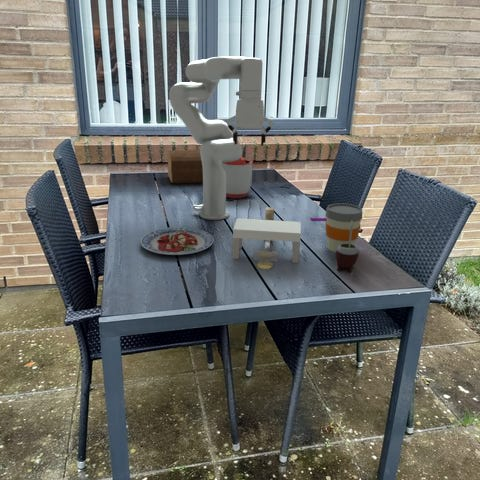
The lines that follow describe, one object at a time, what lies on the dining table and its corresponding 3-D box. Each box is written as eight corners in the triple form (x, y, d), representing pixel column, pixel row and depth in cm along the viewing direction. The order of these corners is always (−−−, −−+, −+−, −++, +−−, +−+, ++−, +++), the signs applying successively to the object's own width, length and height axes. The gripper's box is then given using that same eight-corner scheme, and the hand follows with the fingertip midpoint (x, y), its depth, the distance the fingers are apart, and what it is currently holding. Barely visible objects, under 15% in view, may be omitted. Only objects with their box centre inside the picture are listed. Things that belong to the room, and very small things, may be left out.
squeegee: (306, 207, 208) (328, 208, 208) (306, 211, 208) (328, 211, 209) (317, 231, 181) (343, 232, 181) (317, 235, 182) (342, 236, 182)
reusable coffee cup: (331, 256, 161) (336, 215, 155) (316, 243, 172) (320, 204, 166) (364, 253, 164) (370, 213, 158) (347, 240, 175) (352, 202, 170)
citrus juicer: (261, 196, 226) (262, 155, 219) (230, 201, 217) (231, 159, 209) (242, 188, 238) (243, 149, 230) (213, 193, 229) (213, 152, 221)
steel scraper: (253, 260, 157) (254, 226, 152) (258, 237, 176) (259, 206, 172) (277, 261, 156) (279, 227, 152) (279, 238, 175) (281, 208, 171)
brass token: (255, 269, 151) (256, 266, 150) (258, 263, 155) (258, 260, 155) (271, 271, 150) (271, 268, 149) (273, 265, 154) (273, 261, 154)
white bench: (232, 258, 157) (233, 229, 154) (236, 246, 168) (237, 218, 164) (298, 262, 155) (300, 233, 152) (298, 250, 166) (300, 222, 162)
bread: (227, 182, 250) (228, 152, 244) (171, 184, 243) (170, 153, 237) (220, 174, 266) (220, 145, 260) (167, 176, 259) (166, 147, 253)
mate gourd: (342, 275, 148) (347, 230, 142) (328, 265, 154) (332, 222, 149) (361, 271, 150) (367, 227, 145) (347, 262, 157) (352, 219, 151)
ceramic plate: (134, 237, 174) (133, 229, 173) (200, 229, 184) (200, 222, 182) (150, 264, 152) (149, 256, 151) (224, 253, 162) (224, 245, 160)
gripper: (224, 95, 162) (224, 145, 168) (274, 97, 160) (272, 147, 166) (227, 93, 169) (226, 141, 175) (275, 95, 167) (273, 143, 173)
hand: (249, 144), depth 171 cm, fingers open, 9 cm apart
